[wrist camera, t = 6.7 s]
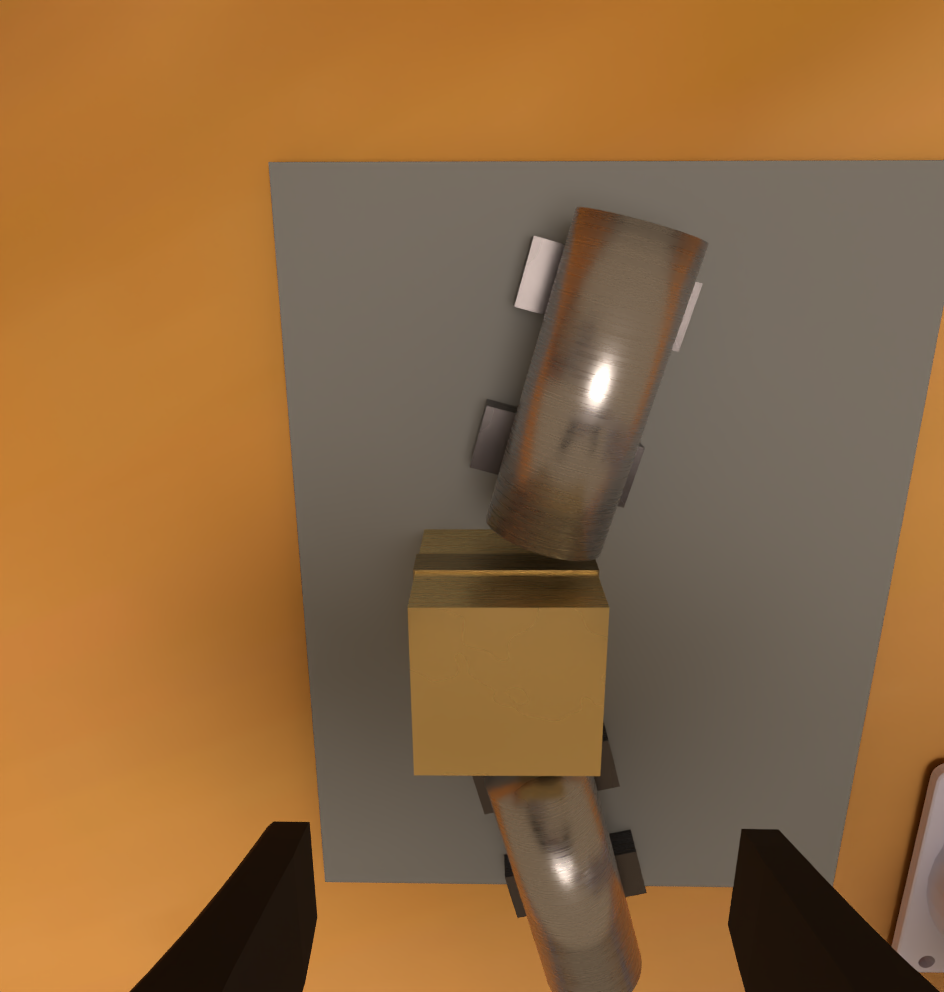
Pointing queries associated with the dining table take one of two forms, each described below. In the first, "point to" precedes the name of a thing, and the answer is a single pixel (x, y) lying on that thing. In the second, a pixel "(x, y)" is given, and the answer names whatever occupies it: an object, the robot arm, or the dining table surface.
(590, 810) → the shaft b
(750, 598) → the mat
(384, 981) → the dining table surface
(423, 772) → the tan rectangular block
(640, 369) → the shaft
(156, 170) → the dining table surface
